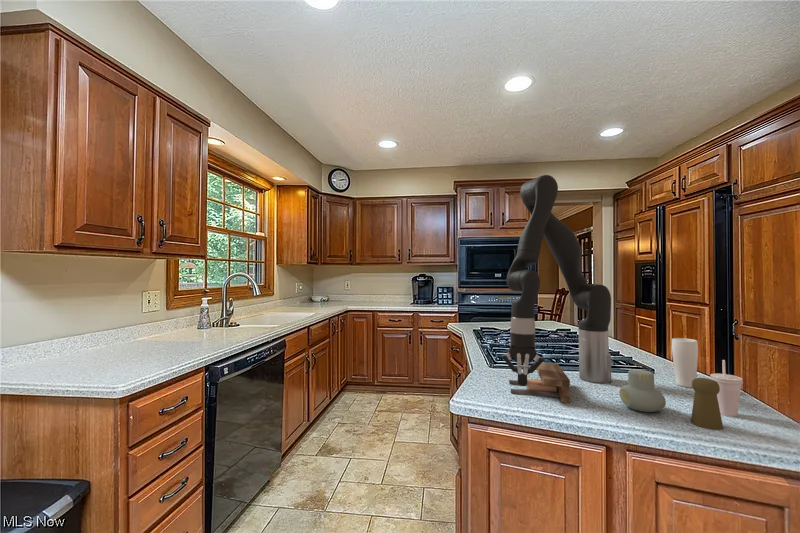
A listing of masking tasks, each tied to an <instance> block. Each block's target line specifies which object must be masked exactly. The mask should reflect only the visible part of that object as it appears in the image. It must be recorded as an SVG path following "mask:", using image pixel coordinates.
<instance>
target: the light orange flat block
mask: <svg viewBox="0 0 800 533" xmlns="http://www.w3.org/2000/svg"><path fill="white" fill-rule="evenodd" d="M526 390H539V391H553V392H557V387H556V386H545V385H543V383H542V381H541V378H540V379H539V378H527V385H526Z"/></svg>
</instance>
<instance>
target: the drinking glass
mask: <svg viewBox="0 0 800 533" xmlns="http://www.w3.org/2000/svg"><path fill="white" fill-rule="evenodd" d="M698 342H699V341H698V340H696V339H692V338H687V337H686V338H682V337H674V338H671V355H672V362H673V369H674V377H675V379H674V380H675V384H676V385H677V386H680V387H683V388H692V389H693V387H692V381H693V380H694V379H695V378H697V373H698V364H699V363H698V361H699V360H698V359H699V343H698Z"/></svg>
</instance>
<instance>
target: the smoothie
mask: <svg viewBox="0 0 800 533" xmlns="http://www.w3.org/2000/svg"><path fill="white" fill-rule="evenodd" d="M721 361H722V363H721V364H722V367H721V368H722V373H711V374H710V377H709V379H711V380H714V381H716V382H717V383H718V384H719V387H720V391H719V393H718V394H717V398H718V403H719V408H720V414H721V416H726V417H731V418H732V417H737V416H738V412H739V402H740V396H741V390H742V384H743V383H744V381H743V378H742V377H739V376H737V375H733V374H727V373H726V360H725V359H722V360H721Z"/></svg>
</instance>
